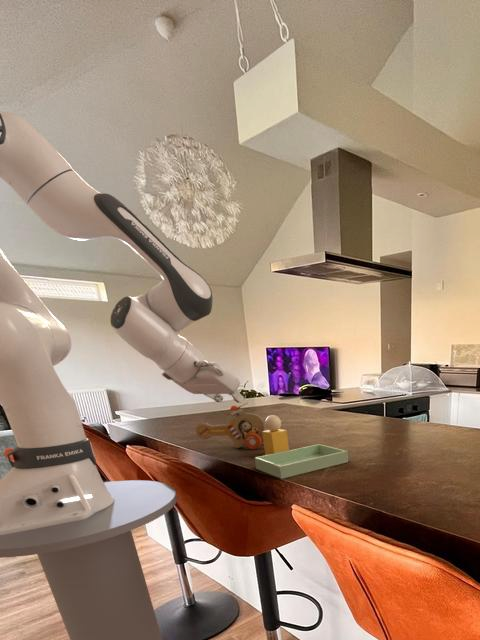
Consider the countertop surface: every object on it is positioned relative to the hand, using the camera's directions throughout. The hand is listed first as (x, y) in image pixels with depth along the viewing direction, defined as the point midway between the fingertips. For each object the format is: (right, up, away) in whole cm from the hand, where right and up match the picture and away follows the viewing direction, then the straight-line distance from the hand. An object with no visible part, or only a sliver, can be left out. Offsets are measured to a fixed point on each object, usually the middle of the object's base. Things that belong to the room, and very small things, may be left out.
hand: (230, 400), depth 108 cm
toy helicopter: (-7, -9, +24) cm, 27 cm away
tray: (+18, -17, +1) cm, 25 cm away
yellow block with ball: (+9, -12, +13) cm, 20 cm away
